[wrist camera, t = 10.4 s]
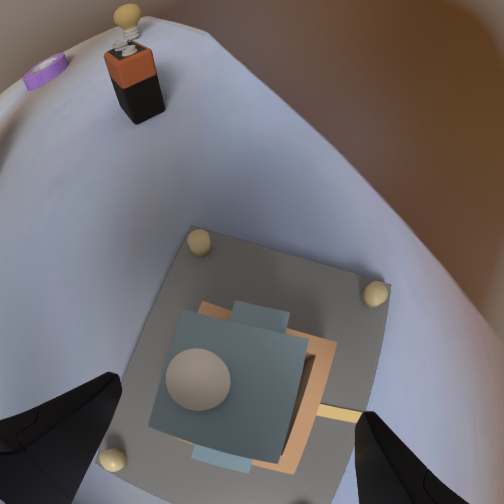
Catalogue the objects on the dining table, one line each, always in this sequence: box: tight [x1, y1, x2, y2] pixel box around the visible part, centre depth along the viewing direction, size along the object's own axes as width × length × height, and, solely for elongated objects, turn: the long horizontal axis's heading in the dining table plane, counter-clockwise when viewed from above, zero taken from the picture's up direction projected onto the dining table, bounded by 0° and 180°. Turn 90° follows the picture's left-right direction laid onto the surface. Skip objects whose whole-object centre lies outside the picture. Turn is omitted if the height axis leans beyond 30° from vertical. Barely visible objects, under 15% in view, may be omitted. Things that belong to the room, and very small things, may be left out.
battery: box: [104, 39, 165, 124], centre depth 27 cm, size 4×7×10 cm, turn 37°
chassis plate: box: [95, 226, 391, 504], centre depth 16 cm, size 20×16×4 cm
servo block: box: [148, 300, 309, 474], centre depth 12 cm, size 9×4×11 cm, turn 166°
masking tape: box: [23, 53, 68, 91], centre depth 42 cm, size 12×12×4 cm
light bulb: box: [114, 4, 141, 41], centre depth 43 cm, size 6×6×10 cm
